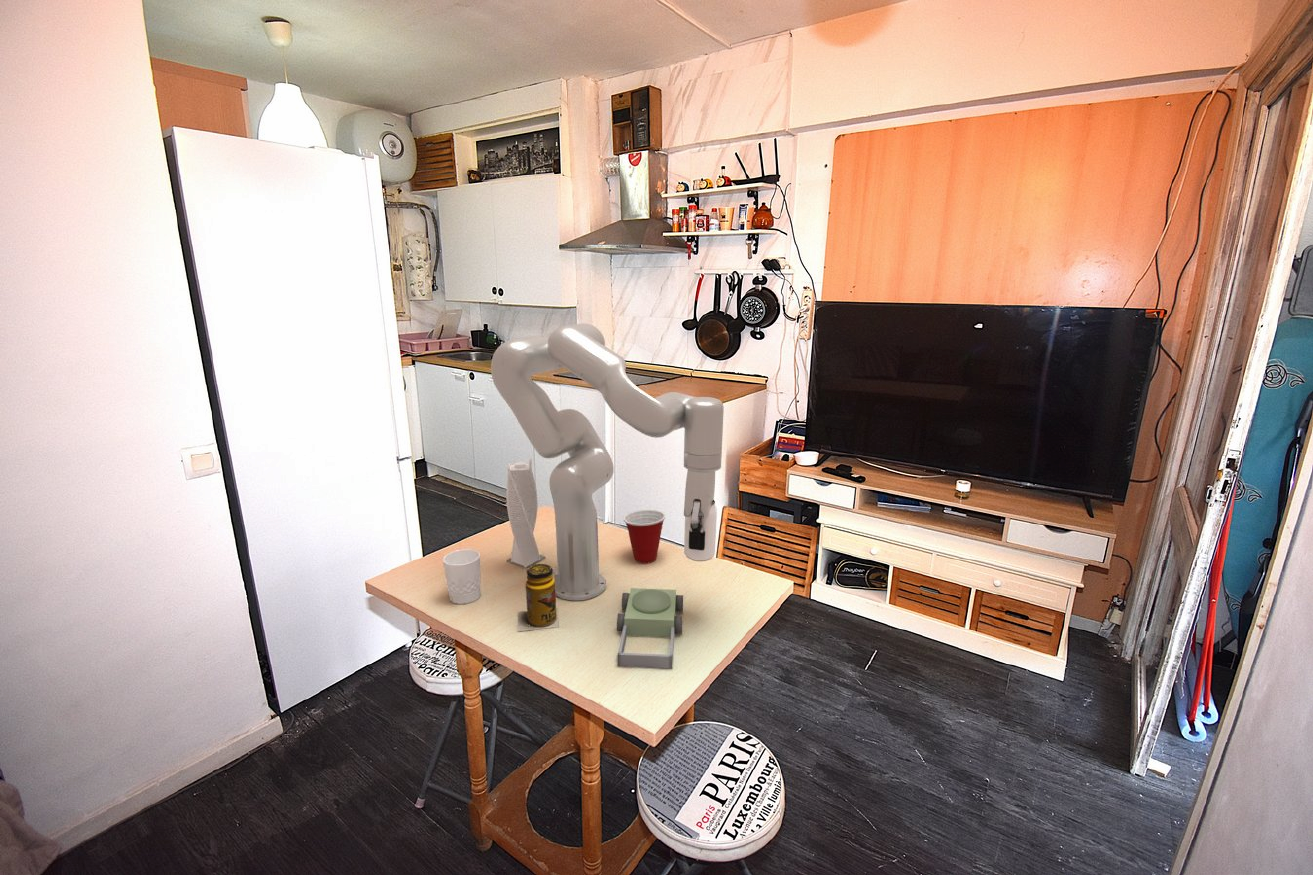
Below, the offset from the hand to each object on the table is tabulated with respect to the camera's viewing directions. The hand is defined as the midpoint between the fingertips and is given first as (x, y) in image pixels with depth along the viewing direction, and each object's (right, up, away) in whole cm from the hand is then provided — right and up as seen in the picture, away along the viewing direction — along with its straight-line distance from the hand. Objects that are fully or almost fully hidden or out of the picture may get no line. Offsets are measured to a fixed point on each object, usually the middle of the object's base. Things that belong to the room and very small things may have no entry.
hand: (699, 540), depth 120 cm
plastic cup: (-12, -10, +30) cm, 34 cm away
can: (0, -3, +1) cm, 3 cm away
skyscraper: (-42, -11, +28) cm, 52 cm away
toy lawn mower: (-10, -18, -2) cm, 21 cm away
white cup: (-52, -15, +12) cm, 56 cm away
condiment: (-34, -17, +3) cm, 38 cm away
